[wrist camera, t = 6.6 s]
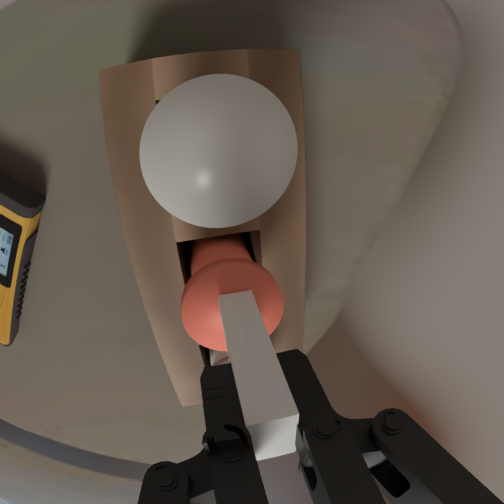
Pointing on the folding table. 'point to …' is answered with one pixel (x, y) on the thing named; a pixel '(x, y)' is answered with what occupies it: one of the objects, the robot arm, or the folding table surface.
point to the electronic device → (15, 250)
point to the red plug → (225, 288)
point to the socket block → (176, 231)
